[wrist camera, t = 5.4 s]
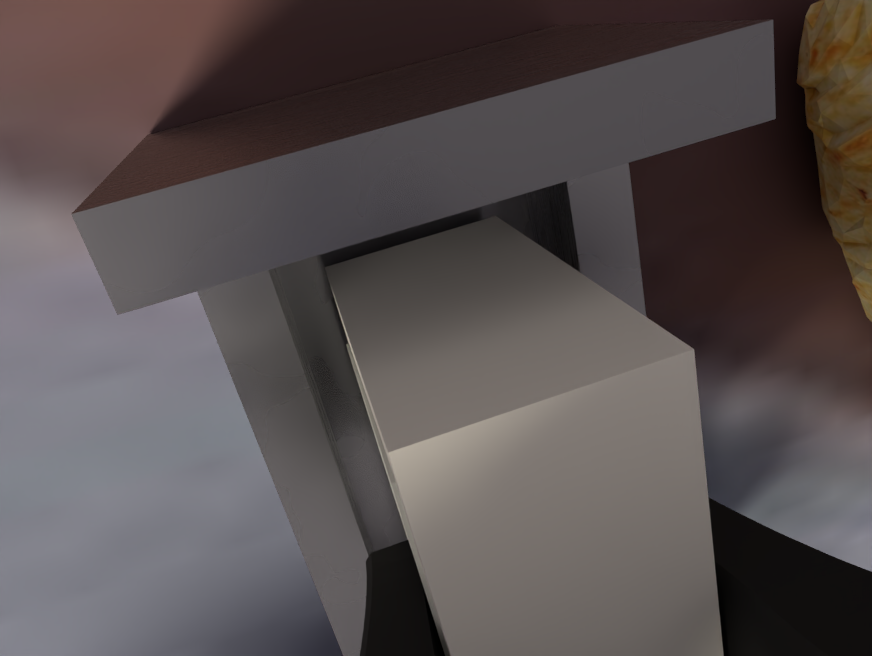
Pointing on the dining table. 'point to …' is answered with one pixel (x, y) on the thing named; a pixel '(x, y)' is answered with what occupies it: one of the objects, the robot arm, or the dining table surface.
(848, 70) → the croissant
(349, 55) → the dining table surface
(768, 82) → the grey metal bracket
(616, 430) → the cream rectangular block
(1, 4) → the dining table surface
